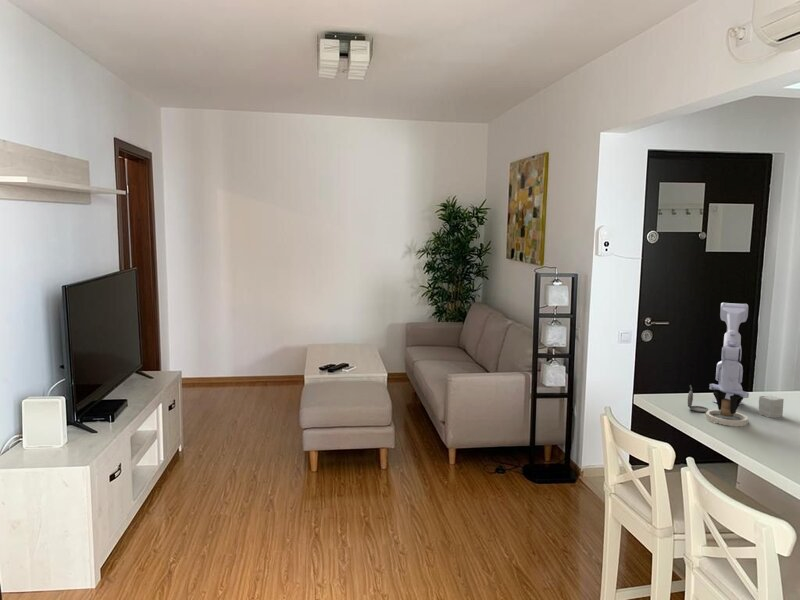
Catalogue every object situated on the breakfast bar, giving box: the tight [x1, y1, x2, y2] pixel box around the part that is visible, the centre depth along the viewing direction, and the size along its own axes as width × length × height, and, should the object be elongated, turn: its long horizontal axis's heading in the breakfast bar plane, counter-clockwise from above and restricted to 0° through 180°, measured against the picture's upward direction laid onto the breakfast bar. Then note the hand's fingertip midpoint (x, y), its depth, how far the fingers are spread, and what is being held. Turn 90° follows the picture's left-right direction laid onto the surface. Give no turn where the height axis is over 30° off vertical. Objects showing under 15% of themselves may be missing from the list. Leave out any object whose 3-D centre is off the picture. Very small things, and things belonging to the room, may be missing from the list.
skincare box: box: [758, 394, 785, 419], centre depth 233 cm, size 6×6×7 cm
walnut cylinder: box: [720, 398, 733, 417], centre depth 226 cm, size 4×4×6 cm
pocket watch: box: [687, 384, 709, 413], centre depth 239 cm, size 8×8×10 cm
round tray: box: [705, 409, 749, 427], centre depth 227 cm, size 14×14×2 cm
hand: (726, 411), depth 227 cm, fingers closed on walnut cylinder, 4 cm apart
